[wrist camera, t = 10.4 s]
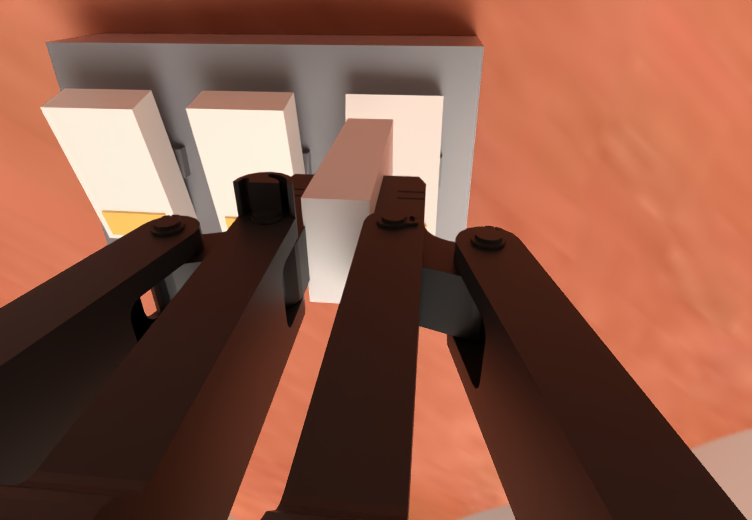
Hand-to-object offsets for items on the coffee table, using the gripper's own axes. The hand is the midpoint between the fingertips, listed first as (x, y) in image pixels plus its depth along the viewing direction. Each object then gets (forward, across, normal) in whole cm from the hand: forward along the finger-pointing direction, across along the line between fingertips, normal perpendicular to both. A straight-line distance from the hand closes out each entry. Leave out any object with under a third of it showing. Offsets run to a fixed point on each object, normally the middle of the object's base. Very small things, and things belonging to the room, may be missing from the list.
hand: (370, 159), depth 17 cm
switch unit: (+14, -7, -4) cm, 16 cm away
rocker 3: (+7, 0, -4) cm, 8 cm away
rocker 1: (+7, -14, -4) cm, 16 cm away
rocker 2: (+7, -7, -4) cm, 11 cm away
